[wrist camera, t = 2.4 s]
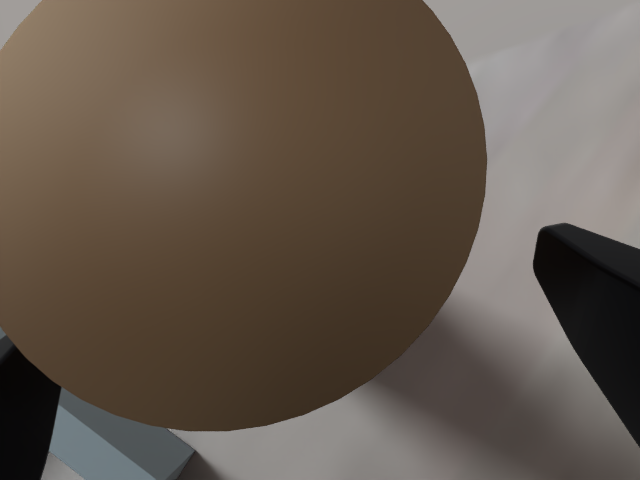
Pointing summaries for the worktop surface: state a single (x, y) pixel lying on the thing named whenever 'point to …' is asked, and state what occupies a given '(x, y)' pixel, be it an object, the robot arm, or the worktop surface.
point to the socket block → (113, 444)
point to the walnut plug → (231, 199)
